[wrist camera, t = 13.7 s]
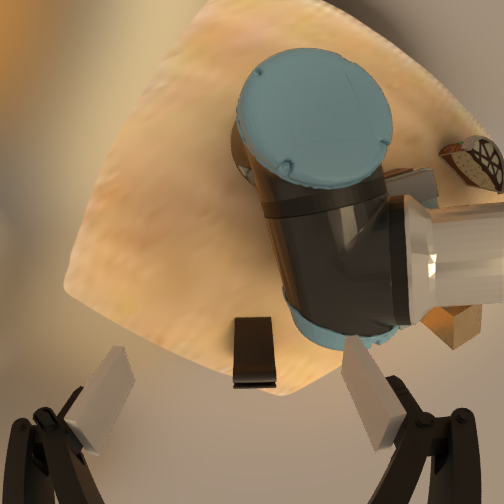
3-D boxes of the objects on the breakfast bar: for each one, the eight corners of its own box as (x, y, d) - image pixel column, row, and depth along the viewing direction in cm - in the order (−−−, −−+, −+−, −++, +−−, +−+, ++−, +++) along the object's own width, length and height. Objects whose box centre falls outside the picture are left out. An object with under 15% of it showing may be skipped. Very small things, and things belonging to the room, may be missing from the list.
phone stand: (270, 359, 48) (275, 405, 36) (237, 360, 48) (234, 406, 36) (271, 316, 46) (277, 359, 34) (235, 317, 46) (231, 359, 34)
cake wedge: (479, 165, 39) (514, 167, 29) (470, 190, 40) (505, 195, 30) (443, 125, 37) (478, 118, 27) (433, 150, 38) (469, 147, 29)
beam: (367, 185, 34) (378, 184, 30) (423, 168, 33) (437, 167, 29) (396, 326, 38) (406, 336, 35) (444, 301, 37) (456, 309, 34)
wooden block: (410, 286, 35) (454, 316, 24) (435, 273, 35) (482, 299, 24) (413, 315, 36) (453, 350, 25) (438, 302, 36) (480, 332, 25)
